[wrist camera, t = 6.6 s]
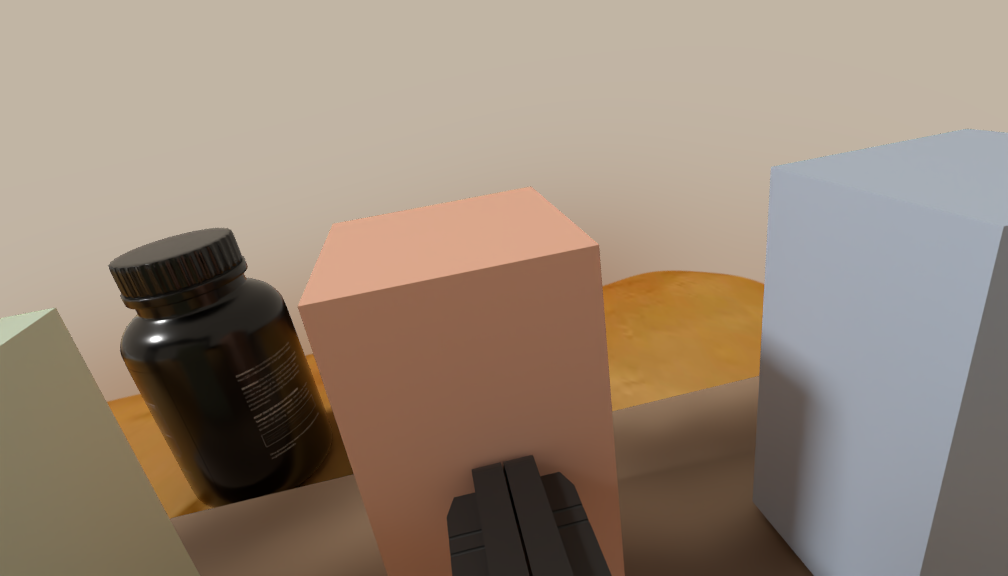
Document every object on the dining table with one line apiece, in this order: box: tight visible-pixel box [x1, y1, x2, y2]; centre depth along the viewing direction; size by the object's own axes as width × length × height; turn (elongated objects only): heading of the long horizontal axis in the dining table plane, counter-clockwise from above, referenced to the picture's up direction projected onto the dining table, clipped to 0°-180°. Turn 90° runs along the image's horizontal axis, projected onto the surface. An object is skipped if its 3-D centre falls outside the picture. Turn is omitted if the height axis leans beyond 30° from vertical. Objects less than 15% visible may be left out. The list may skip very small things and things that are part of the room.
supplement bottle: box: [109, 228, 332, 508], centre depth 25 cm, size 7×7×12 cm
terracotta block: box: [298, 187, 625, 576], centre depth 16 cm, size 6×6×12 cm
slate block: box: [753, 129, 1008, 576], centre depth 14 cm, size 6×6×12 cm
